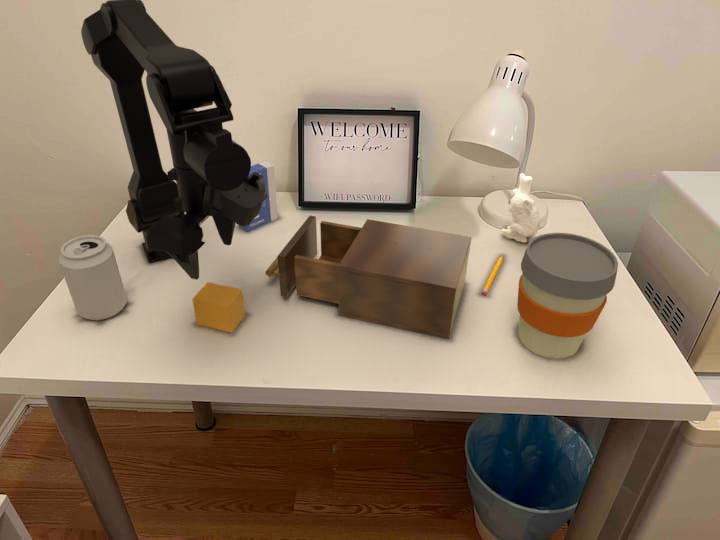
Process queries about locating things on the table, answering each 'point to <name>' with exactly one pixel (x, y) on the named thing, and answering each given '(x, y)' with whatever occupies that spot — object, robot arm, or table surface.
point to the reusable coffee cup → (562, 291)
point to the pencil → (492, 276)
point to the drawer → (313, 260)
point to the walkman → (270, 203)
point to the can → (92, 277)
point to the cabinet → (404, 277)
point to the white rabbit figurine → (522, 212)
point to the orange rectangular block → (219, 307)
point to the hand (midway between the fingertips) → (212, 260)
